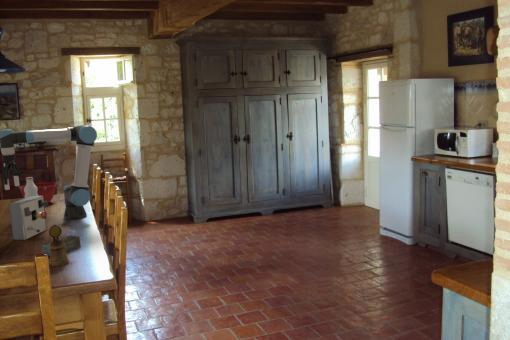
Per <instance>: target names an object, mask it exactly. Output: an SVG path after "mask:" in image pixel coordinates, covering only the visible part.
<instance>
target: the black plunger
mask: <svg viewBox="0 0 510 340" xmlns="http://www.w3.org/2000/svg"><path fill="white" fill-rule="evenodd" d="M38 206H44V207H45V208H46V207H48V206H49V203H48V202H47V201H44V202H38Z"/></svg>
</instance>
